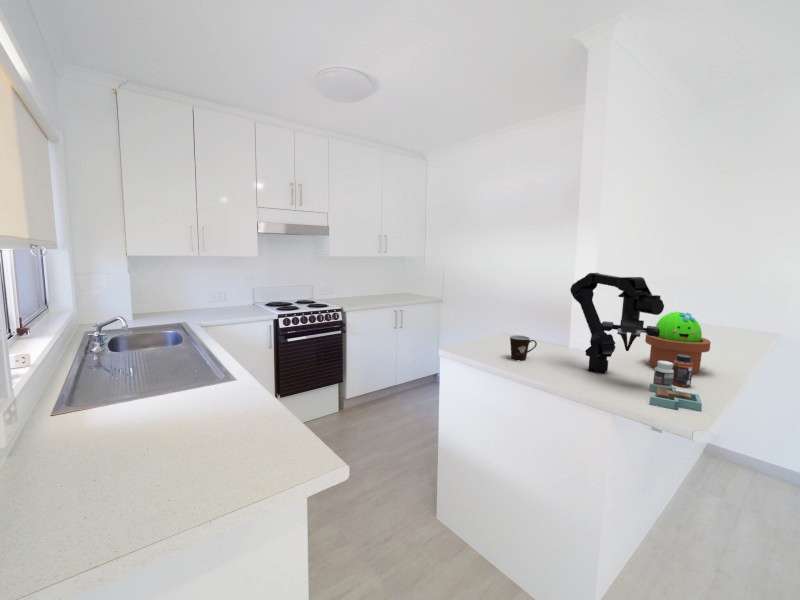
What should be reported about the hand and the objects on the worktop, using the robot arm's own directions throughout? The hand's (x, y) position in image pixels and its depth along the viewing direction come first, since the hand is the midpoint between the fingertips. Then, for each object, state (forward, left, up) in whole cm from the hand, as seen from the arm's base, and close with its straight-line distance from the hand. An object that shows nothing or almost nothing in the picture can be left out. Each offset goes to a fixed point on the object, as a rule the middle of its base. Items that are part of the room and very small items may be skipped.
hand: (627, 350), depth 141 cm
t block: (+14, -13, -12) cm, 23 cm away
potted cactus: (+17, +32, -12) cm, 38 cm away
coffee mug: (-41, +6, -12) cm, 43 cm away
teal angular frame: (+15, -13, -12) cm, 23 cm away
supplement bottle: (+18, +8, -12) cm, 23 cm away
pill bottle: (+12, -1, -12) cm, 17 cm away
